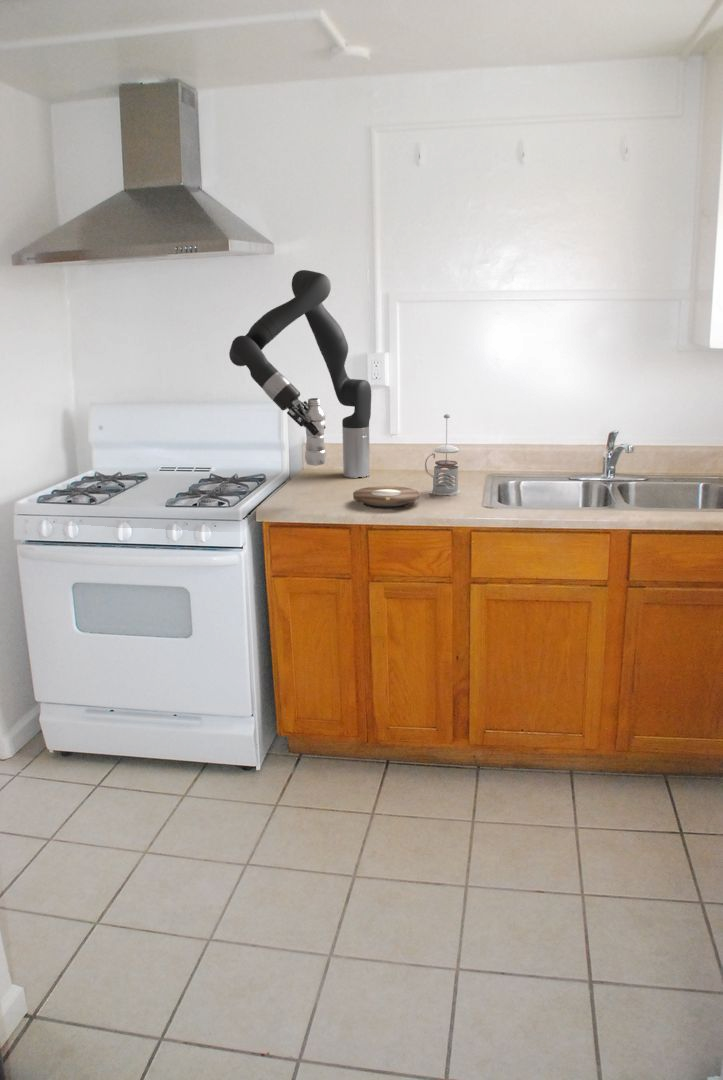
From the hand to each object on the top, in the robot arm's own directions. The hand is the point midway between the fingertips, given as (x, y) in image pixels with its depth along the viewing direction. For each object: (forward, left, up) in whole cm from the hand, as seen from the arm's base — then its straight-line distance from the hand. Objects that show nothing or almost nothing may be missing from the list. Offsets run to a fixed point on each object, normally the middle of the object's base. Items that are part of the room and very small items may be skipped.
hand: (320, 431), depth 265 cm
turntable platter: (+2, +20, -20) cm, 28 cm away
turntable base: (+2, +20, -22) cm, 30 cm away
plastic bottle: (-1, -2, -11) cm, 11 cm away
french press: (-12, +39, -22) cm, 46 cm away
